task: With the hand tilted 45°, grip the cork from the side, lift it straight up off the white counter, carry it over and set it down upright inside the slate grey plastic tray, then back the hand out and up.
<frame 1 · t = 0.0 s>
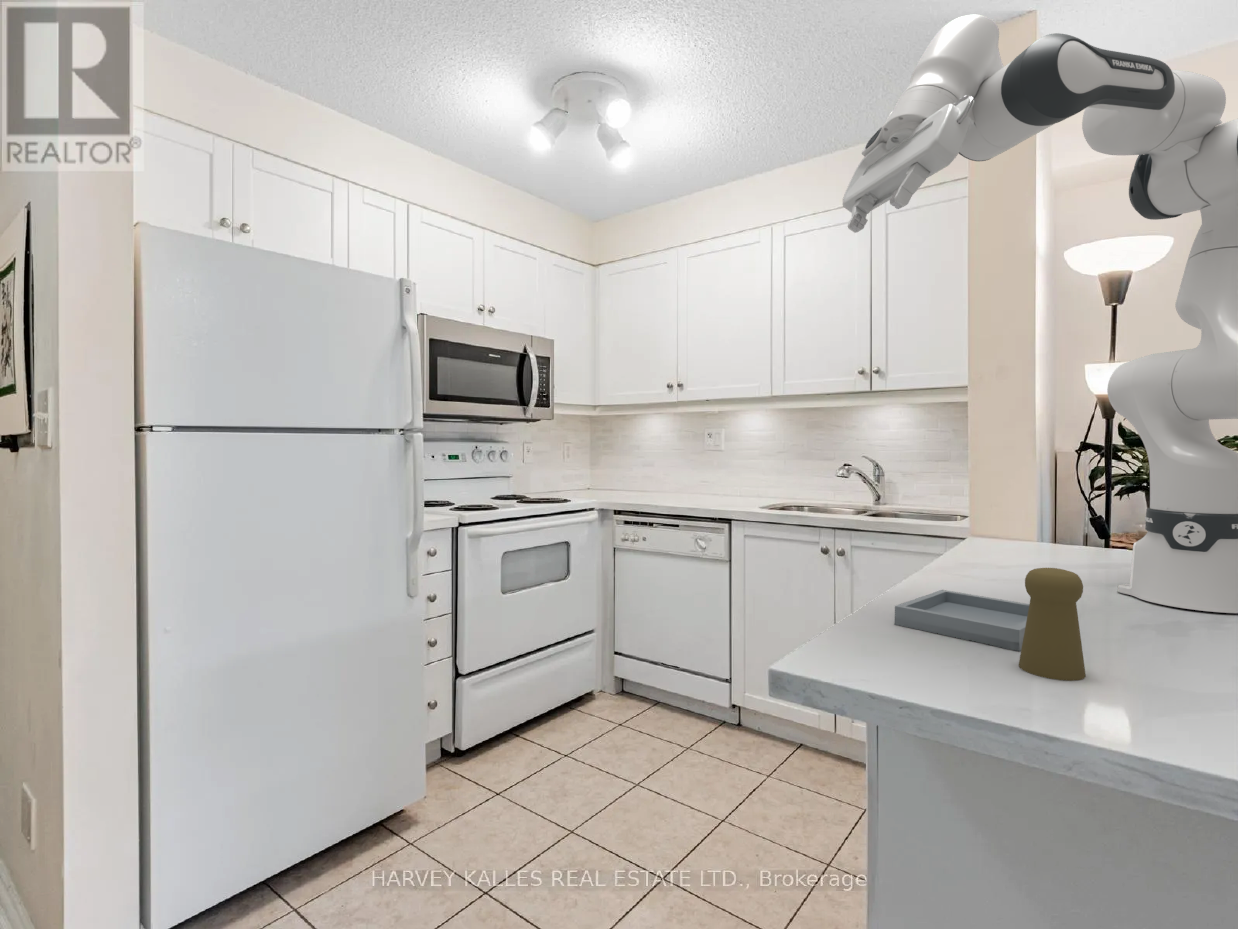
hand: (874, 217, 86), 54 cm above the countertop, tool tilted 30°, fingers open, 8 cm apart
cork: (1051, 672, 70), on the countertop
slate grey tray: (975, 626, 87), on the countertop
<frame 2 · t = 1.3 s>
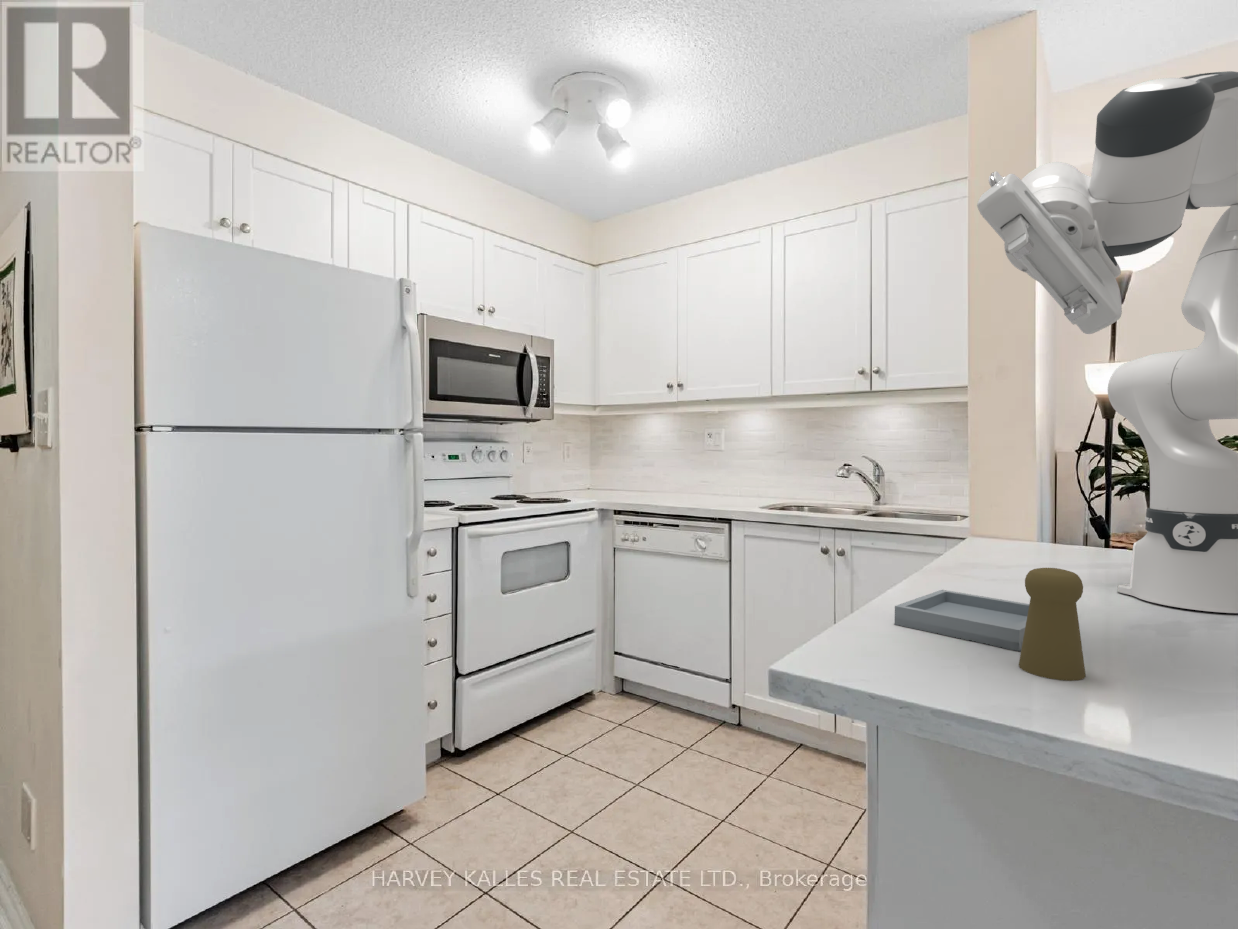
hand: (1049, 283, 67), 41 cm above the countertop, tool tilted 55°, fingers open, 8 cm apart
nothing on the countertop moved.
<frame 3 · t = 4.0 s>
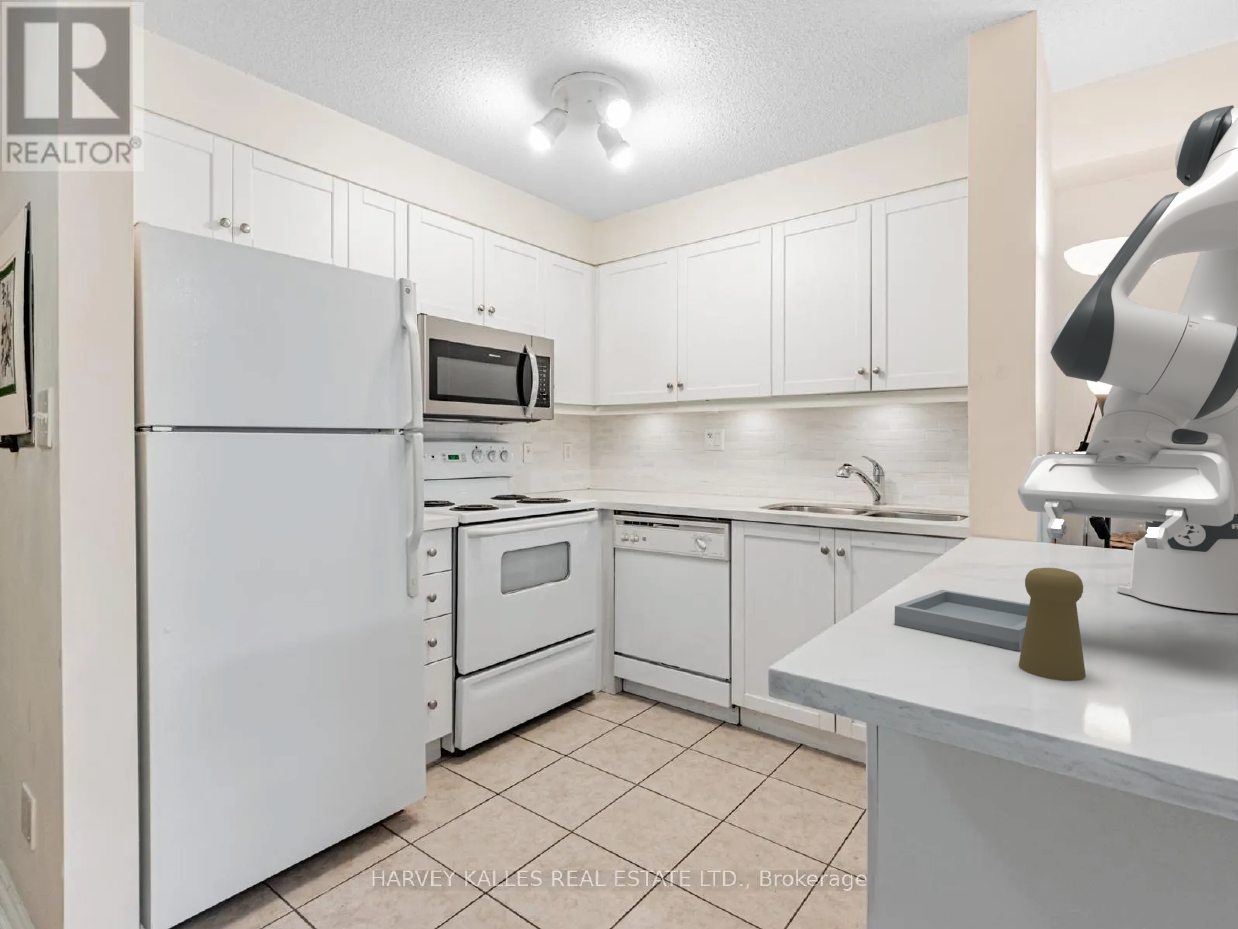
hand: (1102, 540, 74), 13 cm above the countertop, tool tilted 45°, fingers open, 8 cm apart
nothing on the countertop moved.
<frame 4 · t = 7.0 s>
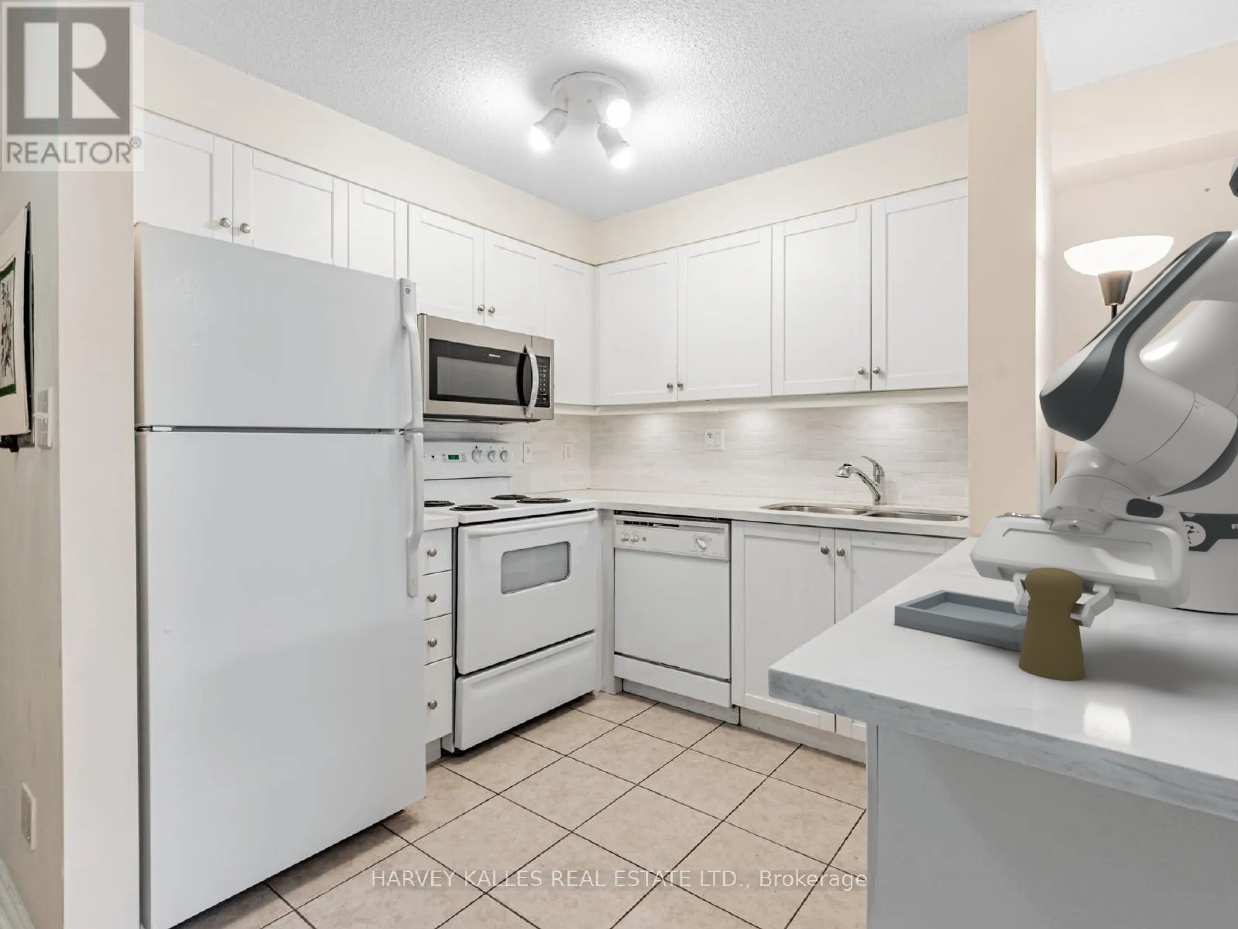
hand: (1050, 617, 69), 6 cm above the countertop, tool tilted 45°, fingers closed on cork, 4 cm apart
cork: (1051, 672, 70), on the countertop, touching gripper
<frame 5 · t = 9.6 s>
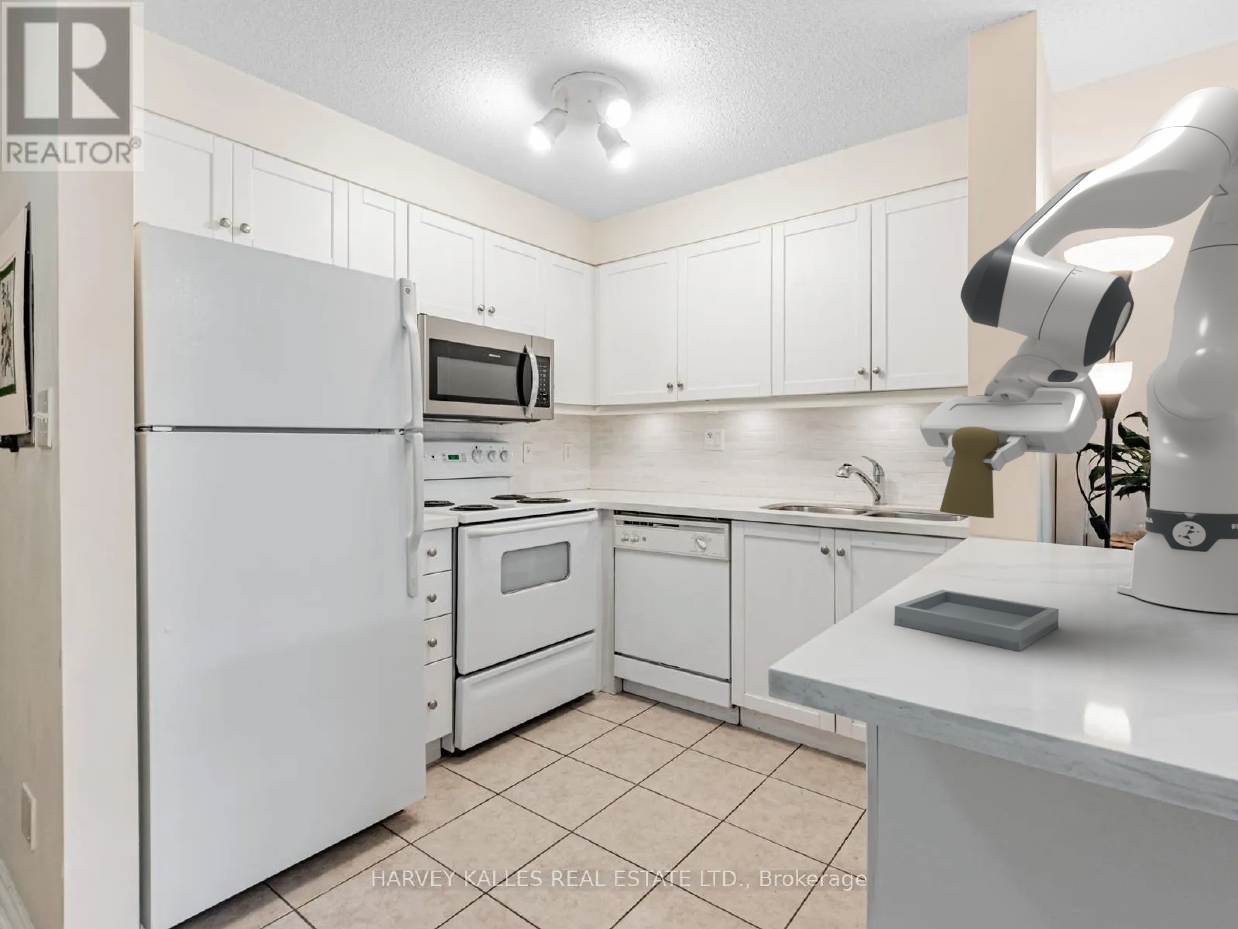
hand: (969, 464, 81), 22 cm above the countertop, tool tilted 50°, fingers closed on cork, 4 cm apart
cork: (966, 516, 82), point 15 cm above the countertop, touching gripper
when the fingers open (8 cm above the countertop, at t = 12.5 s): cork moves 1 cm, resting on slate grey tray.
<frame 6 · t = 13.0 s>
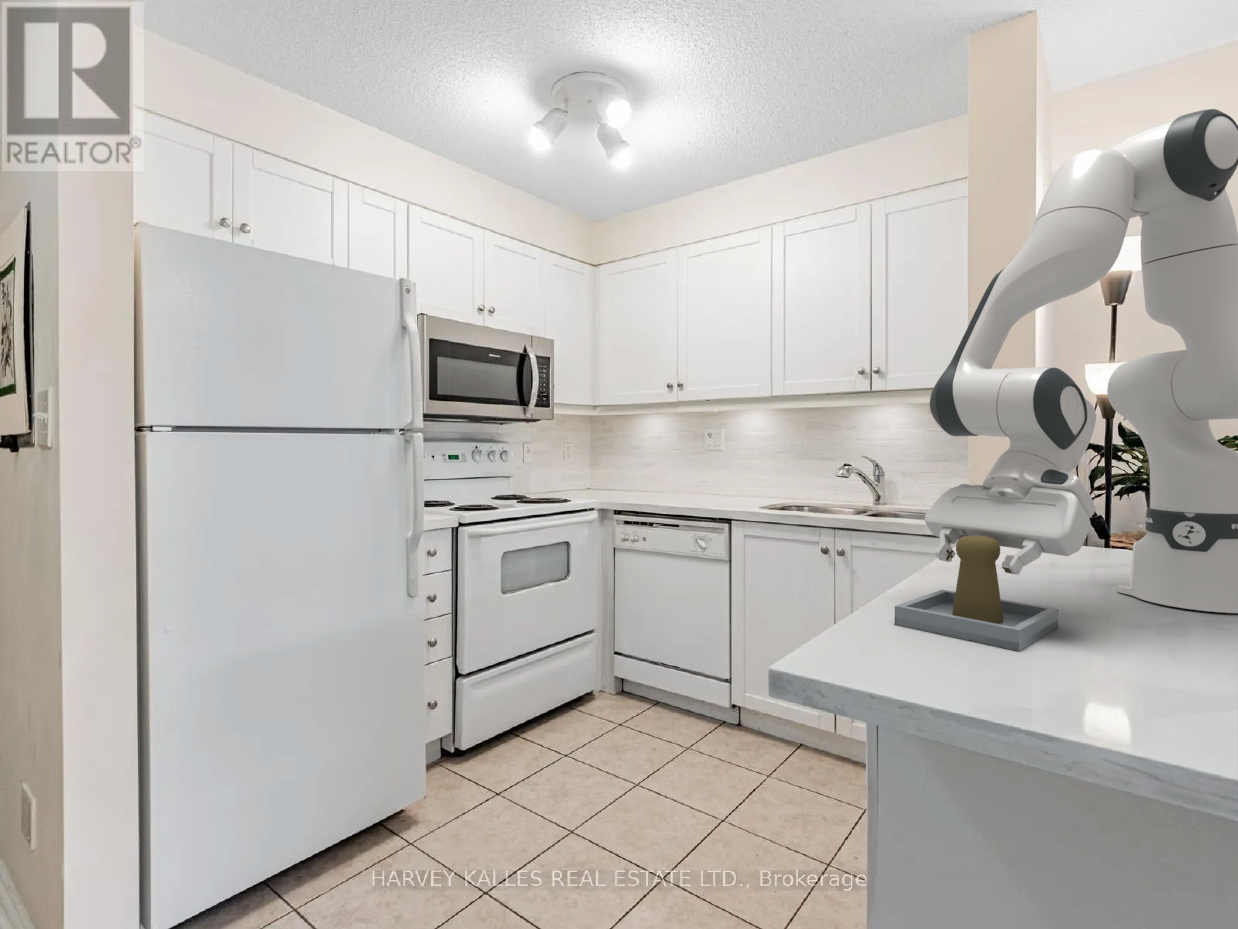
hand: (974, 564, 86), 8 cm above the countertop, tool tilted 45°, fingers open, 8 cm apart
cork: (977, 619, 87), point 1 cm above the countertop, touching slate grey tray
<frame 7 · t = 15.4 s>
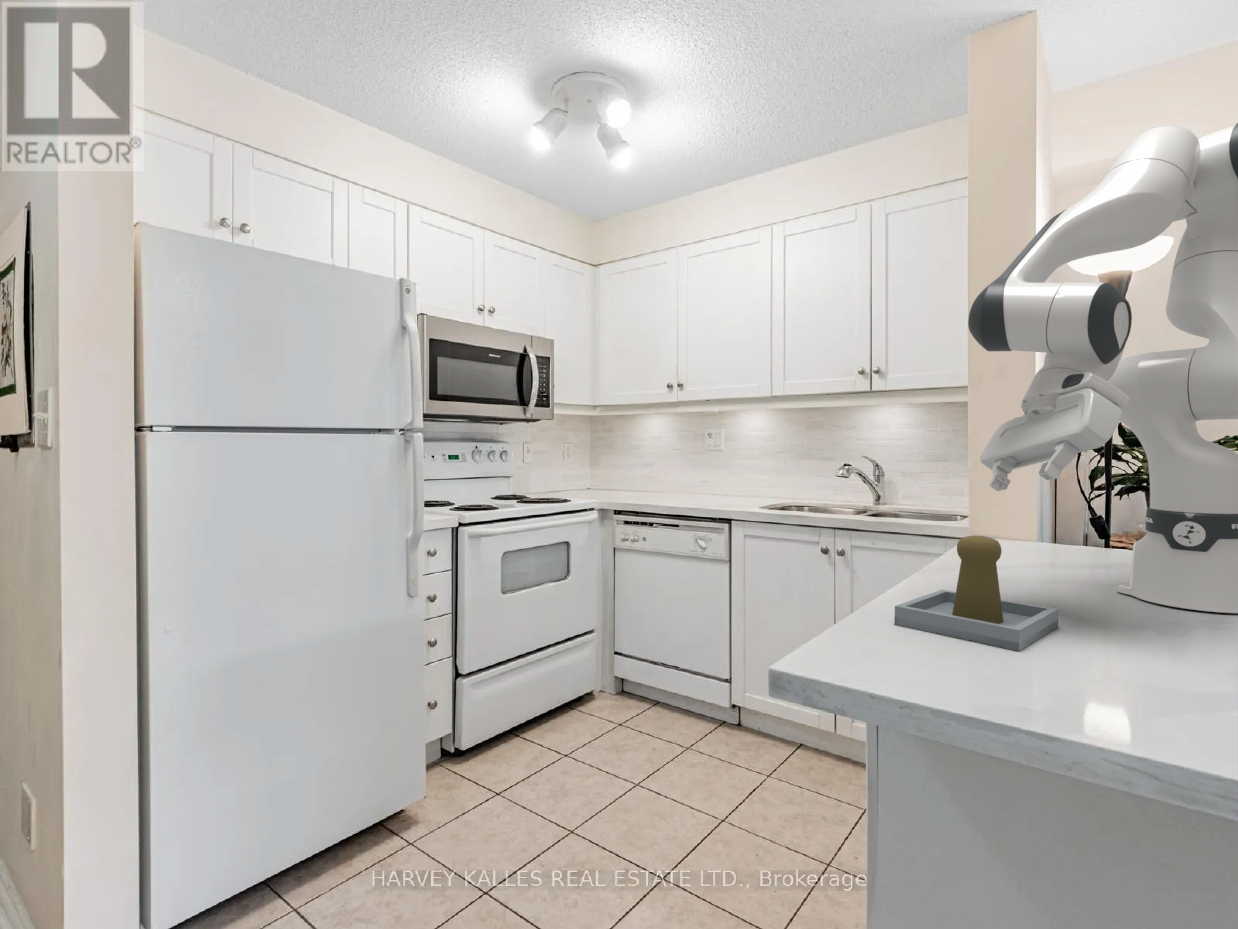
hand: (1021, 483, 89), 19 cm above the countertop, tool tilted 35°, fingers open, 8 cm apart
nothing on the countertop moved.
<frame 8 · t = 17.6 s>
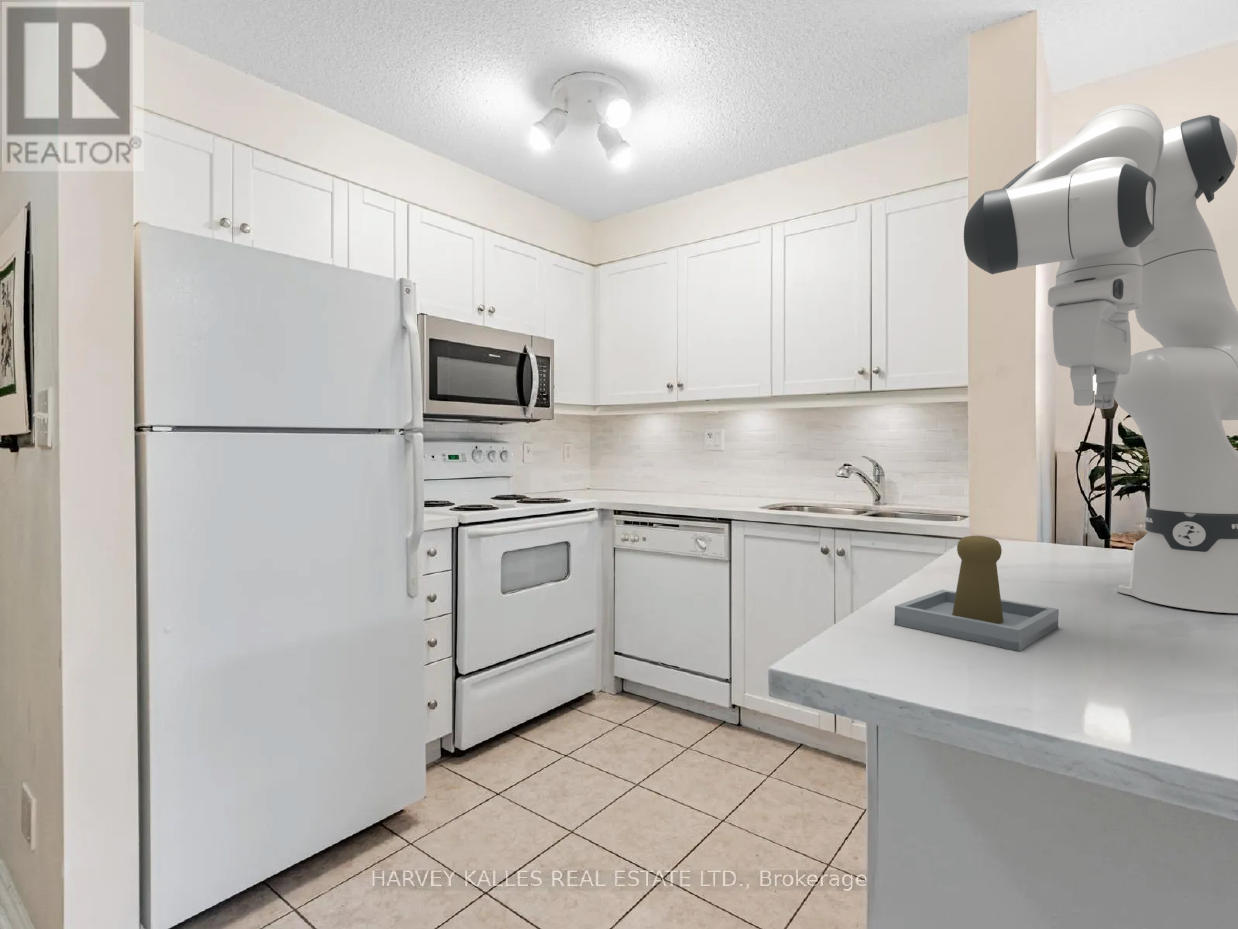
hand: (1094, 407, 82), 29 cm above the countertop, tool pointing down, fingers open, 8 cm apart
nothing on the countertop moved.
at the end: cork inside the target area on the slate grey tray (0.3 cm from its centre), point 0.8 cm above the slate grey tray's base; cork tilted 0°; the gripper is holding nothing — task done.
